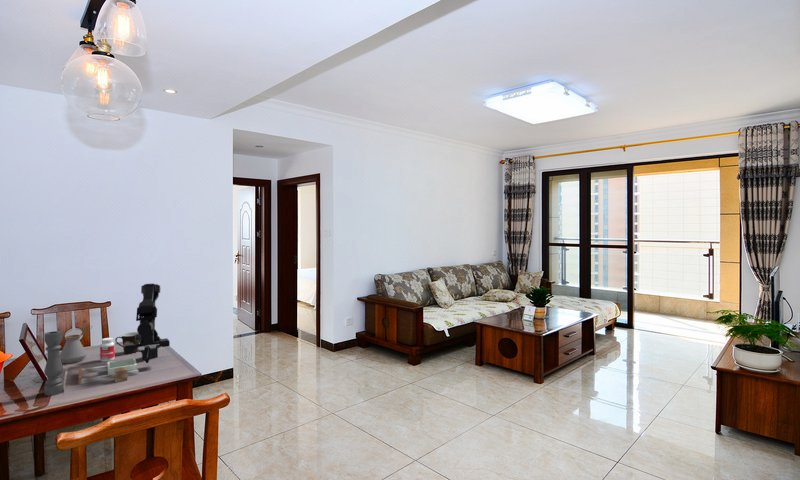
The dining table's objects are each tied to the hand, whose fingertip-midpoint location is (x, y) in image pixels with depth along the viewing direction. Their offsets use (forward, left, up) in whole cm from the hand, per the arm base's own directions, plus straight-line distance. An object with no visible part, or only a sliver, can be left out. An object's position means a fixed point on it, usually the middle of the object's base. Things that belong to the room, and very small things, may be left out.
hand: (147, 362), depth 202 cm
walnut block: (+11, +12, -4) cm, 17 cm away
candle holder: (+34, +10, -4) cm, 36 cm away
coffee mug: (+5, -39, -4) cm, 40 cm away
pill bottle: (+15, -29, -4) cm, 33 cm away
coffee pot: (+27, -41, -4) cm, 49 cm away
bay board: (+15, 0, -4) cm, 15 cm away
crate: (+10, 0, -2) cm, 10 cm away
